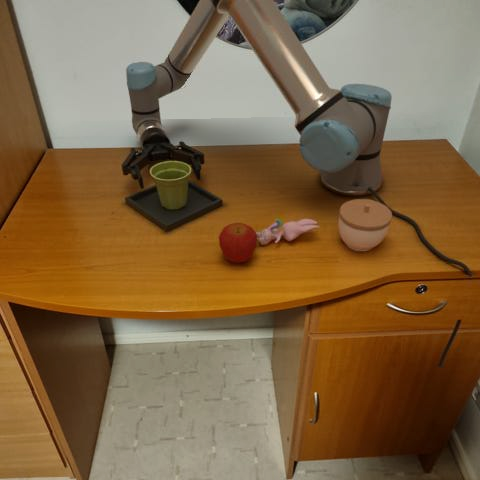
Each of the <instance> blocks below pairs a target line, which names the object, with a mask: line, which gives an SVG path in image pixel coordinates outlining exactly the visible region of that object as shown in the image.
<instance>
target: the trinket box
mask: <svg viewBox="0 0 480 480" xmlns="http://www.w3.org/2000/svg"><path fill="white" fill-rule="evenodd" d="M387 206H388V205H387ZM387 206H385V205H383V204H382V203H380V202H379V201H378V200H377V201H376V200H374V199H368V198H356V199H351V200H348V201H345V202H344V203H343V204H342V205H341V206H340V207H339V211H338V213H339V214H338V223H337V224H338V227H337V228H338V233H339V236H340V238H341V240H342V241H343V242H344V244H345V246H346V247H347V248H348V249H351V250H353V251H356V252H367V251H370V250H372V249H373V248H375V247H377V246H379V244H381V243H382V241H383V240H384V239H385V237H386V236H387V235H388V231H389V228H390V225H391V223H392V221H393V214H392V213H391V211H390V209H389V208H390V207H389V206H388V207H389V208H388V207H387Z"/></svg>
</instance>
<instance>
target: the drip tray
mask: <svg viewBox="0 0 480 480" xmlns="http://www.w3.org/2000/svg"><path fill="white" fill-rule="evenodd" d="M124 200H125V204H126V205H127V206H129V207H130V208H132V209H133V210H134V211H135V212H137V213H139V214H140V215H142V216H143V217H144V218H146V219H147V220H149V221H150V222H151V223H153V224H154V225H156V226H157V227H159V228H160V229H161V230H163V231H164V232H166V233H169V232H171V231H173V230H175V229H177V228H180V227H181V226H183V225H185V224H188V223H190V222H191V221H194V220H196V219H198V218H200V217H202V216H204V215H206V214H208V213H210V212H213V211H215V210H217V209H219V208H221V207H223V204H224V202H223V199H222V198H220V197H219V196H217V195H215V194H214V193H212V192H210V191H208V190H207V189H206V188H203V187H202V186H200V185H198V184H197V183H194V182H193V181H191V180H190V179H188V190H187V204H186V205H185V206H183V207H181V208H180V209H176V210H169V209H166V208H165V207H163V206H162V205H161V202H160V198H159V194H158V191H157V187H156V184H154V185H152V186H149V187H147V188H144V189H141V190H140V191H137V192H135V193H132V194H130V195H128V196H125V197H124Z"/></svg>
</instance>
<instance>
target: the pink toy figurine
mask: <svg viewBox="0 0 480 480" xmlns="http://www.w3.org/2000/svg"><path fill="white" fill-rule="evenodd" d="M274 221H275V222H274V223H272V224H271V225H269V226H267V228H263V229H261V230H260V231H255V233H256V235H257V242H259V245H261V246H266V245H268V244H269V243H271V241H274V244H278V243H279V242H280V240H281V238H283V239H284V240H286V241H288V242H291V241H293V240H295V239H297V238H298V237H300V235H301V234H302V235H303V234H304V233H306V232H310V231H311V230H313V229H319V228H320V227H321V226H320V225H318V221H316V220H314V219H311V218H303V219H302V218H301V219H298V220H297V221H294V220H290V221H287V222H286V223H284V224H283V221H282V219H281V218H275V219H274ZM282 224H283V225H282ZM281 226H282V227H281ZM280 227H281V230H278V229H279V228H280Z"/></svg>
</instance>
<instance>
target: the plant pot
mask: <svg viewBox="0 0 480 480" xmlns="http://www.w3.org/2000/svg"><path fill="white" fill-rule="evenodd" d="M191 173H192V168H191V165H188V164H186V163H183V162H179V161H176V160H175V161H170V160H165V161H162V162H158V163H156V164H154V165H152V166H151V168H150V169H149V175H150V176H151V178H152V180H153V181H154V185H156V187H157V191H158V194H159V198H160V202H161V205H162V206H163V207H165V208H166V209H169V210H176V209H180V208H181V207H183V206H185V205H186V204H187V190H188V180H190V175H191Z"/></svg>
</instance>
